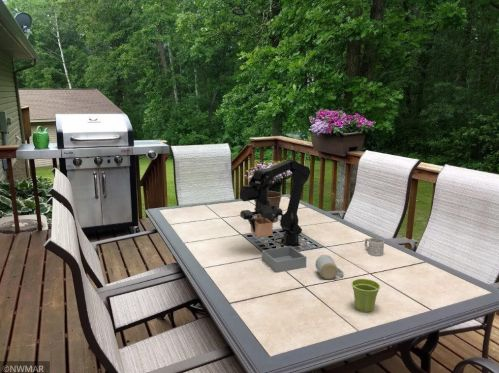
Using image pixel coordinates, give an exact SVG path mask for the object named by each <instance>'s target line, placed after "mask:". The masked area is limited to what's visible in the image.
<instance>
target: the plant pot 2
mask: <svg viewBox="0 0 499 373" xmlns="http://www.w3.org/2000/svg"><path fill="white" fill-rule="evenodd" d="M351 286H352V290H353V297H354V307H355V309H356V310H357V311H361V312H363V313H370V312H372V311H374V308H375V305H376V304H375V303H376V300H377V295H378V292H379V290H380V289H381V284H380V283H378V282H377V281H375V280H373V279H370V278H355V279H353V280H352V281H351Z"/></svg>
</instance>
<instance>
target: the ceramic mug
mask: <svg viewBox="0 0 499 373" xmlns="http://www.w3.org/2000/svg"><path fill="white" fill-rule="evenodd" d="M315 268H316V269H317V271H318V273H319V274H320V276H321V278H323V279H324V280H325V279H326V280H332V279H334V278H335V277H338V278H342V277H343V276H344V274H345V272H344V271H343V270H342V269H340V268H338V266H337V264H336V263H335V261H334V258H333V257H331V256H330V255H328V254H322V255H320V256H318V257H317V258H316V261H315Z"/></svg>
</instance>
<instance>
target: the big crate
mask: <svg viewBox="0 0 499 373" xmlns="http://www.w3.org/2000/svg"><path fill="white" fill-rule="evenodd" d="M261 261H262V262H263V263H264V264H265V265H266V266H268V267H269V268H270V269H271V270H272V271H273V272H274V273H276V274H277V273H283V272H289V271H294V270H299V269H300V270H301V269H306V268H307V256H306V255H304V254H302V252H300V251H298V250H297V249H296V248H294V246H287V245H286V246H281V247H276V248H270V249H269V248H268V249H262V250H261Z"/></svg>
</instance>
